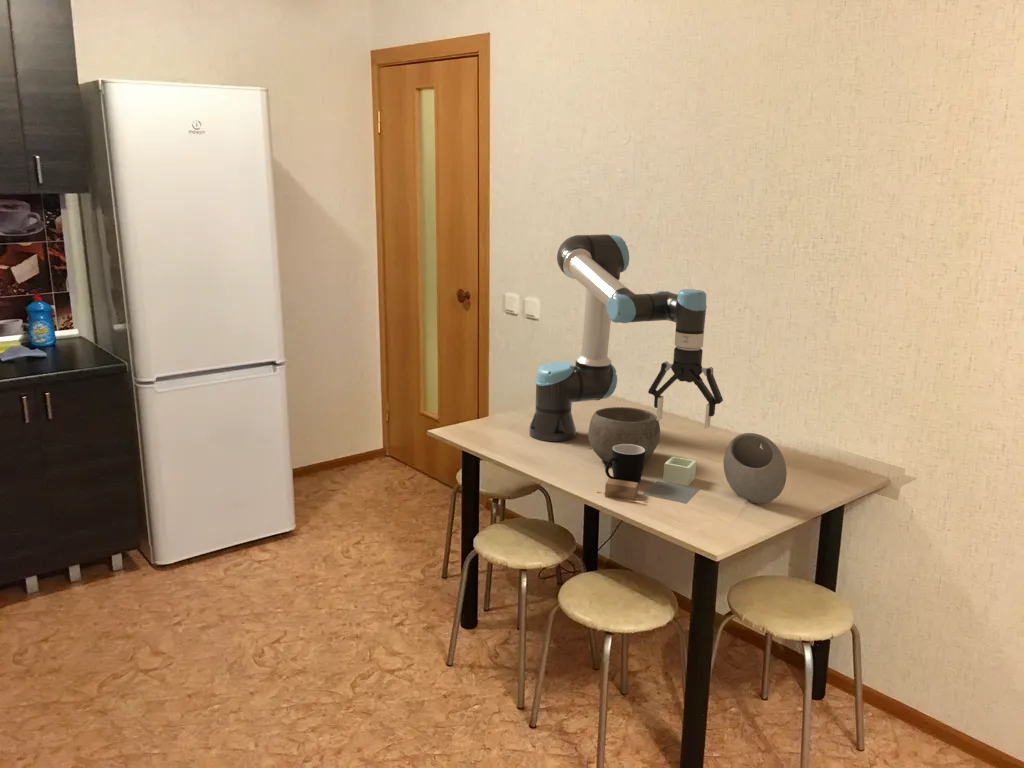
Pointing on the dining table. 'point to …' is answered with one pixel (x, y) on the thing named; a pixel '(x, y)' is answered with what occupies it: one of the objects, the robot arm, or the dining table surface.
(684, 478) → the tub
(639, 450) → the mug
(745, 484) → the planter
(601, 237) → the robot arm
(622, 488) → the walnut block
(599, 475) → the dining table surface
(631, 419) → the bowl
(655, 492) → the coaster mat
